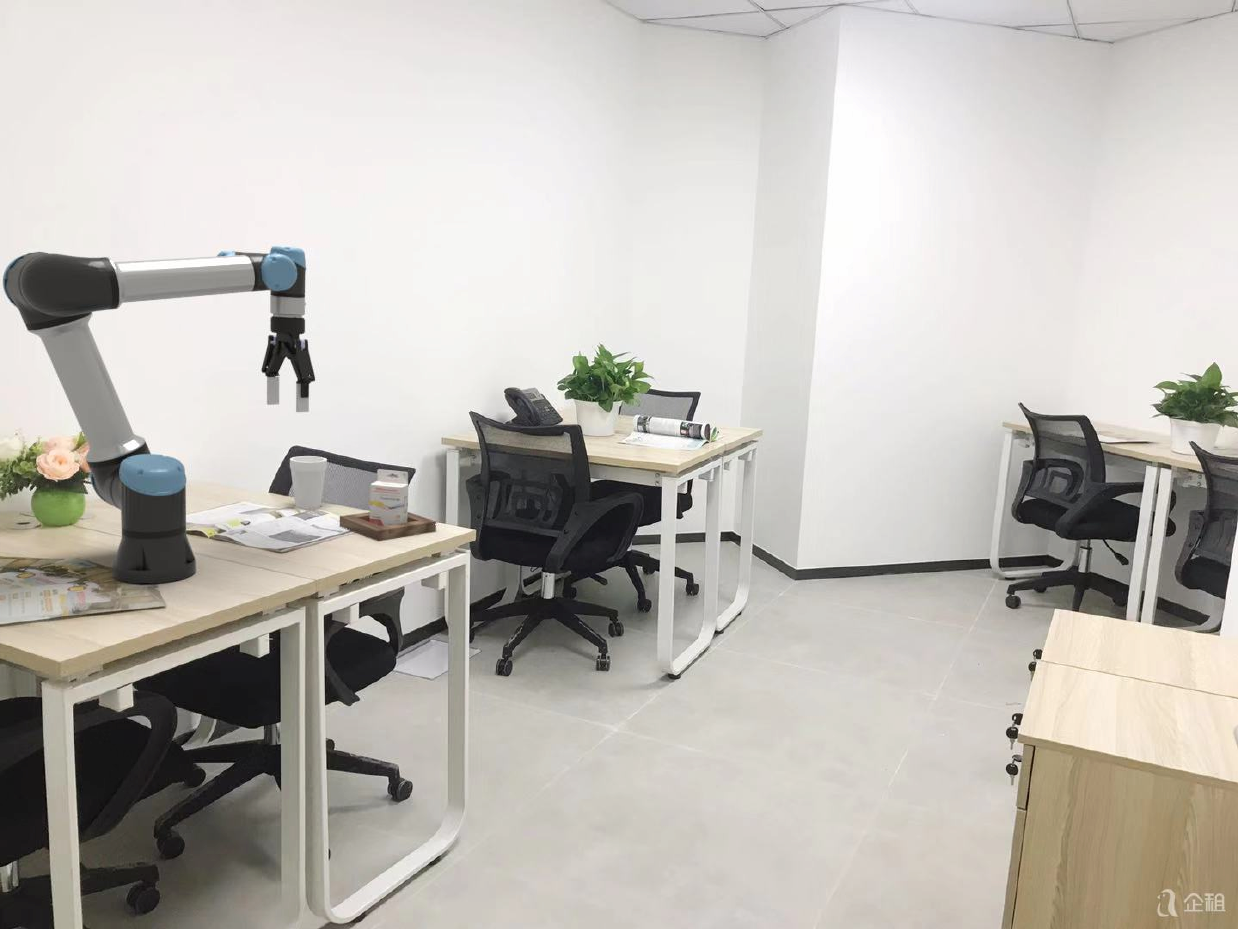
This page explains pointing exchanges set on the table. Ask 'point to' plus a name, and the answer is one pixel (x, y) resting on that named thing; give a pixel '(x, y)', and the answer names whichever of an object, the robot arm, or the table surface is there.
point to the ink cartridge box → (389, 498)
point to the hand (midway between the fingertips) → (287, 408)
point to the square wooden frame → (376, 532)
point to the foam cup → (308, 480)
